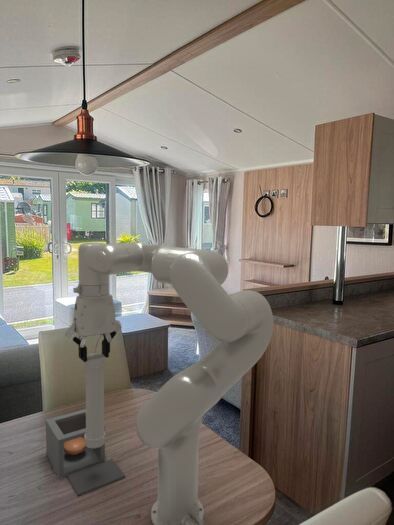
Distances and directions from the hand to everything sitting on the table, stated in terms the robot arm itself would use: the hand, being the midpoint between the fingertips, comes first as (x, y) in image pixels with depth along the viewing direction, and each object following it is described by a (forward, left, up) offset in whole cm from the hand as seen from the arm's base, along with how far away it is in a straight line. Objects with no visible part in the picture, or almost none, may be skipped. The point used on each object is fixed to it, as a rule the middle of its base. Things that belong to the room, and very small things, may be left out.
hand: (94, 357), depth 101 cm
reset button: (+11, +2, -32) cm, 34 cm away
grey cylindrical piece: (0, 0, -24) cm, 24 cm away
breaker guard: (+11, +2, -34) cm, 36 cm away
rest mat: (0, 0, -34) cm, 34 cm away
